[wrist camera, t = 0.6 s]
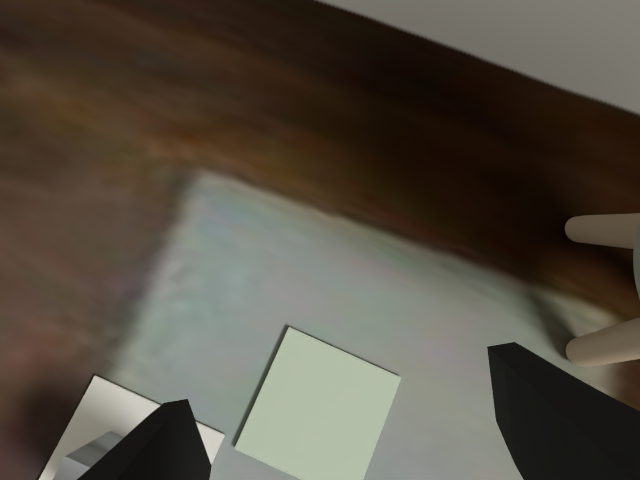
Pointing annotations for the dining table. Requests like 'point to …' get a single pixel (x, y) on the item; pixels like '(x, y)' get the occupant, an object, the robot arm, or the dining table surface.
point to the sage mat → (318, 411)
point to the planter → (636, 234)
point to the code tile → (112, 421)
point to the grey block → (86, 456)
